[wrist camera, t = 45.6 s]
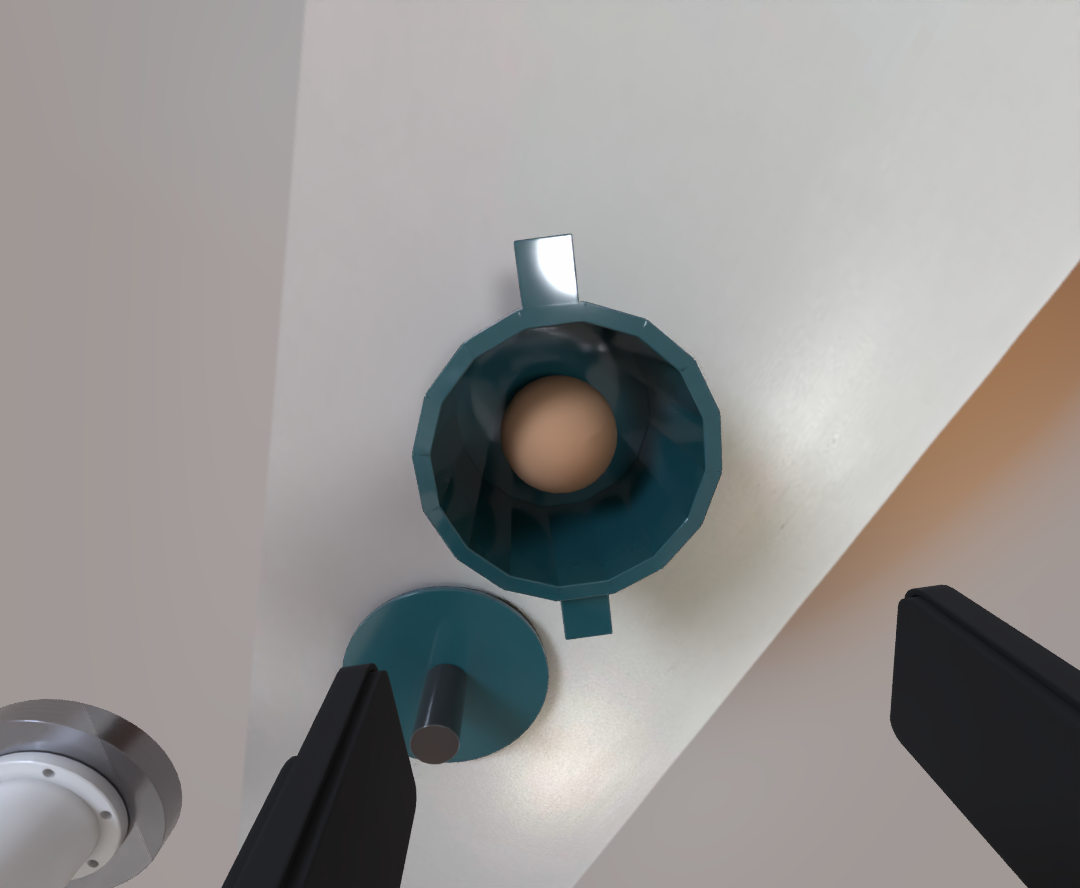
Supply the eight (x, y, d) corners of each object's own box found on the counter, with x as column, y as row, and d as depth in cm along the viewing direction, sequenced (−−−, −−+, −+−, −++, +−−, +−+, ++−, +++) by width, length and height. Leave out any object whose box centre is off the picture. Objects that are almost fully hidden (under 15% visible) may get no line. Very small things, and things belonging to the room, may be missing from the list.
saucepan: (471, 561, 35) (453, 665, 25) (420, 272, 30) (371, 257, 20) (667, 534, 35) (728, 627, 25) (648, 243, 30) (715, 212, 20)
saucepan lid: (370, 762, 39) (342, 851, 33) (325, 596, 35) (283, 660, 29) (558, 736, 39) (566, 819, 33) (534, 568, 35) (538, 625, 29)
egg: (491, 381, 31) (482, 407, 23) (593, 356, 31) (619, 374, 23) (516, 477, 33) (516, 532, 25) (613, 454, 33) (643, 502, 25)
